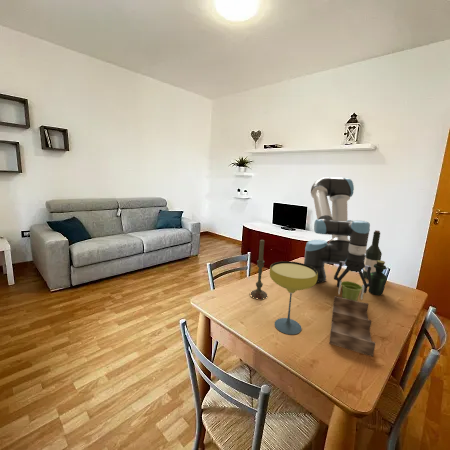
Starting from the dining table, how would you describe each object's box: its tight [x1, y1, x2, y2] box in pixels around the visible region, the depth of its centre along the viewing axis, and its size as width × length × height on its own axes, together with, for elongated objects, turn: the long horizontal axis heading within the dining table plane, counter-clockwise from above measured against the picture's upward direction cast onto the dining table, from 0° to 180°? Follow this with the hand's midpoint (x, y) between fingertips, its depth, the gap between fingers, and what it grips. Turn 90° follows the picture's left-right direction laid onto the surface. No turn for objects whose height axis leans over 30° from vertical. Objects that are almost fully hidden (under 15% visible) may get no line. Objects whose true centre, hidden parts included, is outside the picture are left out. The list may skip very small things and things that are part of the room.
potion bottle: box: [368, 260, 388, 296], centre depth 129 cm, size 8×8×18 cm
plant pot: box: [341, 280, 362, 301], centre depth 120 cm, size 9×9×9 cm
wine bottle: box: [362, 230, 383, 280], centre depth 149 cm, size 8×8×30 cm
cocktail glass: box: [269, 260, 318, 336], centre depth 97 cm, size 18×18×25 cm
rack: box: [329, 295, 376, 357], centre depth 99 cm, size 14×30×5 cm, turn 154°
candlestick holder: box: [250, 239, 268, 300], centre depth 121 cm, size 9×9×30 cm
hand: (350, 295), depth 120 cm, fingers closed on plant pot, 9 cm apart
